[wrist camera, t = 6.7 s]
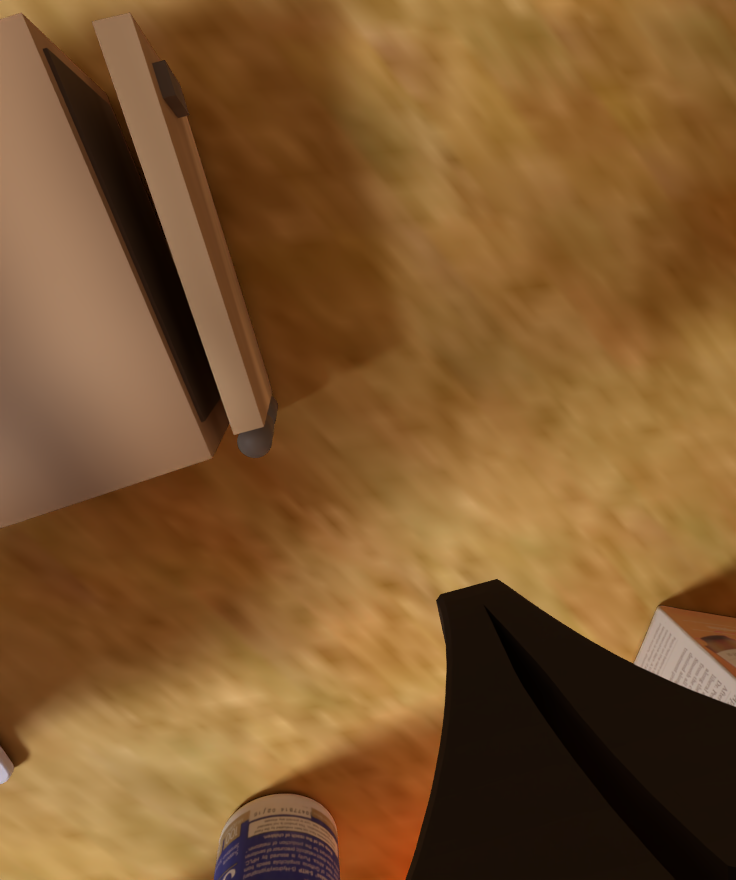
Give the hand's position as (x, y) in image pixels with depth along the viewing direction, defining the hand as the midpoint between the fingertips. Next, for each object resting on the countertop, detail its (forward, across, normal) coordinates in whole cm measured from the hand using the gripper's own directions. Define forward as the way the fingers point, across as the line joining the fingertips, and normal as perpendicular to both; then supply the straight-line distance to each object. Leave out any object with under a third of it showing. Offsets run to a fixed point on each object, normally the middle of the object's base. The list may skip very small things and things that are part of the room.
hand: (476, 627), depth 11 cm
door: (+9, +4, -8) cm, 13 cm away
